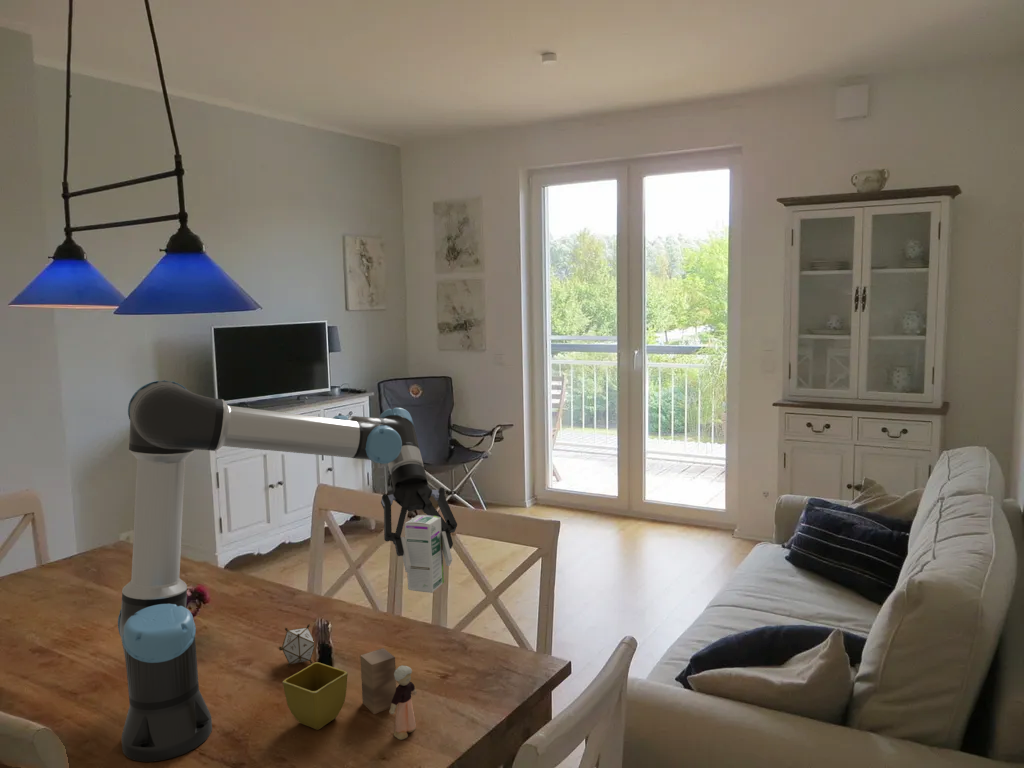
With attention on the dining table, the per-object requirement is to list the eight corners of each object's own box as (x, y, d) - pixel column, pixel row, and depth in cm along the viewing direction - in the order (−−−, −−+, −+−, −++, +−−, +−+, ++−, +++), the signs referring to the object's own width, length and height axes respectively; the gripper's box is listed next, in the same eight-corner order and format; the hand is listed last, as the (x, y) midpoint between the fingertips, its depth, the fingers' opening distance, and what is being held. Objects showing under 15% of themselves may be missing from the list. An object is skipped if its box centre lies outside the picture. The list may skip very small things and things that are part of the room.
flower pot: (317, 739, 140) (314, 692, 139) (283, 726, 144) (281, 680, 143) (351, 716, 147) (348, 671, 146) (318, 704, 152) (316, 661, 151)
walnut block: (374, 714, 148) (371, 664, 147) (362, 703, 152) (360, 655, 151) (397, 705, 151) (395, 657, 149) (385, 695, 155) (383, 648, 153)
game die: (305, 681, 168) (304, 659, 162) (270, 666, 169) (269, 643, 163) (326, 647, 175) (326, 624, 168) (293, 632, 176) (292, 609, 169)
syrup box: (433, 593, 155) (430, 523, 154) (406, 590, 157) (404, 521, 155) (444, 583, 161) (442, 515, 159) (418, 580, 163) (416, 513, 161)
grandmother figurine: (407, 744, 137) (404, 677, 136) (387, 741, 138) (384, 674, 137) (423, 721, 145) (421, 657, 143) (404, 718, 146) (402, 655, 144)
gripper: (449, 475, 175) (473, 566, 162) (358, 485, 167) (376, 581, 154) (455, 457, 169) (481, 550, 156) (361, 466, 162) (380, 564, 149)
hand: (429, 565), depth 155 cm, fingers closed on syrup box, 8 cm apart
